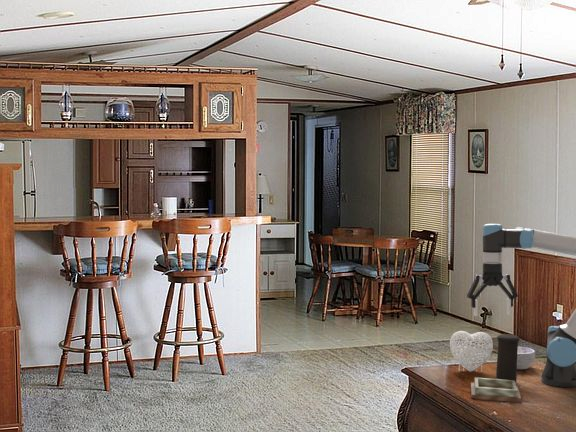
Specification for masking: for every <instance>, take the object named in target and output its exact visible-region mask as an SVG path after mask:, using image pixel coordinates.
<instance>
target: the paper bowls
mask: <svg viewBox="0 0 576 432" xmlns="http://www.w3.org/2000/svg"><path fill="white" fill-rule="evenodd" d="M535 361H536V351H535V350H534V349H533V348H530V347H526V346H518V351H517V370H526V369H529V368H530V367H531V364H533V363H535Z"/></svg>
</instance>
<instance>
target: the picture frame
mask: <svg viewBox="0 0 576 432" xmlns="http://www.w3.org/2000/svg"><path fill="white" fill-rule="evenodd" d="M470 391H471V392H470V394H471V395H470V396H471V398H474V399H475V400H484V401H498V402H510V403H511V402H513V403H522V397H521V393H520V389H519V386H518V385H517V382H516V383H515V380H502V379H496V378H489V377H488V378H487V377H486V378H485V377H474V382H470ZM474 399H473V400H474Z"/></svg>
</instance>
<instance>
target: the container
mask: <svg viewBox="0 0 576 432" xmlns="http://www.w3.org/2000/svg"><path fill="white" fill-rule="evenodd" d="M496 339H497V341H498V342H497V355H496V358H497V360H496V374H495V379H502V380H515V383H516V384H517V376H518V375H517V373H518V369H517V351H518V347H519V341H520V337H519V336H518V335H515V334H508V333H507V334H506V333H503V334H501V333H500V334H498V335H497V336H496Z"/></svg>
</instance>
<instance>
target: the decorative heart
mask: <svg viewBox="0 0 576 432" xmlns="http://www.w3.org/2000/svg"><path fill="white" fill-rule="evenodd" d="M449 339H450V340H449V349H450V352H451V354H452V356H453V357H454V360H456V363H458V372H460V371H461V366H462V372H465V370H467V371H468V372H469V373H471V372H474V370H475V372H478V368H480V373H483V365H484V363H486V361H488V359H489V358H490V357H491V354H492V352H493V348H494V342H493V339H492V337H491V336H490V334H488V333H487V332H483V331H478V332H474V333H469V332H468V331H464V330H458V331H456V332H454V333H453V334H451V337H450V338H449Z"/></svg>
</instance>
